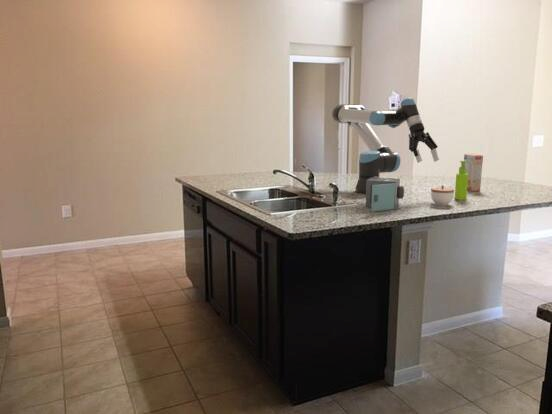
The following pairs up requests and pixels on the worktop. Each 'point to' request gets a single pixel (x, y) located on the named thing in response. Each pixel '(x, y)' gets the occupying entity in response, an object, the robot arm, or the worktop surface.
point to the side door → (384, 197)
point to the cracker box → (473, 171)
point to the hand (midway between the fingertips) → (428, 161)
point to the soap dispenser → (461, 182)
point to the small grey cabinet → (382, 181)
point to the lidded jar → (442, 195)
